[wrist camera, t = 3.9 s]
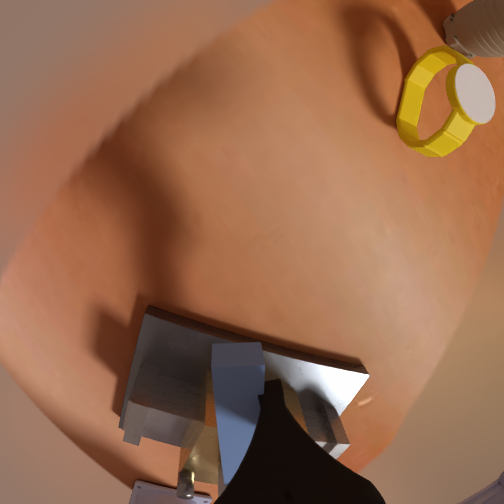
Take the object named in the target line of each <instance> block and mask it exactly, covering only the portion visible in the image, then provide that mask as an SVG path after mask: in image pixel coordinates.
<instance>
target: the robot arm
mask: <svg viewBox="0 0 504 504" xmlns="http://www.w3.org/2000/svg"><path fill="white" fill-rule="evenodd" d="M257 396H258V400H259V404H260V408H261V409H260V413H259V417H258V421H257V425H256V428H255V431H254V434H253V437H252V440H251V442H250V445H249V447H248V449H247V452H246V454H245V456H244V458H243V460H242V462H241V464H240V466H239V468H238V469H237V471H236V473H235V474H234V476H233V478H232V479H231V481H230V482H229V484H228V485H227V487H226V488H225V490H224V491H223V492H222V494H221V495H220V496H219V497H218V499H217V500H216V501H215V502H214V503H213V504H386V503H385V501H384V499H383V497H382V496H381V494H380V493H379V491H378V490H377V489H376V487H375V486H374V485H373V484H372V483H371V482H370V481H369V480H367V479H365V478H364V477H362V476H360V475H358V474H357V473H355V472H353V471H352V470H350V469H349V468H347V467H346V466H344V465H343V464H341V463H340V462H339V461H337V460H336V459H335V458H334V457H332V456H331V455H330V454H329V453H327V452H326V451H325V450H324V449H323V448H322V447H320V446H319V445H318V444H317V443H316V442H315V441H314V440H313V439H312V438H311V437H310V436H309V435H308V434H307V432H306V431H305V430H304V429H303V428H302V427H301V425H300V424H299V423H298V422H297V421H296V419H295V418H294V417H293V415H292V414H291V412H290V411H289V409H288V408H287V407H286V403H285V397H284V391H283V387H282V383H281V379H280V378H279V379H274V380H269V381H264V394H261V395H257ZM211 501H212V497H211V496H207V495H201V494H195V493H194V498H193V499H189V500H185V499H181V498H178V497H177V490H175V489H171V488H167V487H163V486H158V485H155V484H151V483H147V482H143V481H139V480H137V481H135V485H134V488H133V491H132V495H131V498H130V502H129V504H210V503H211ZM458 504H504V471H503V472H502V474H501V475H500V476H499V478H498V479H497V480H496V481H494V482H493V483H491V484H489V485H488V486H486V487H485V488H483V489H482V490H480V491H479V492H477V493H475V494H474V495H472V496H471V497H469V498H467V499H465V500H464V501H462V502H460V503H458Z"/></svg>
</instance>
